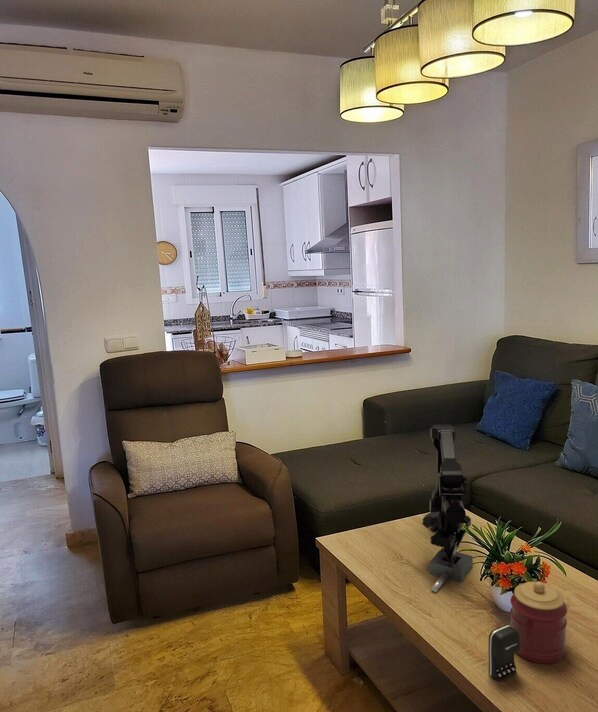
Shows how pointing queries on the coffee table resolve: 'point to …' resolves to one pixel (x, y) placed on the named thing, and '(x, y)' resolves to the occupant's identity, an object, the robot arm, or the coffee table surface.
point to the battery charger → (503, 651)
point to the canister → (539, 622)
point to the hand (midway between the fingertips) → (451, 555)
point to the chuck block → (449, 568)
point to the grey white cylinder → (453, 556)
